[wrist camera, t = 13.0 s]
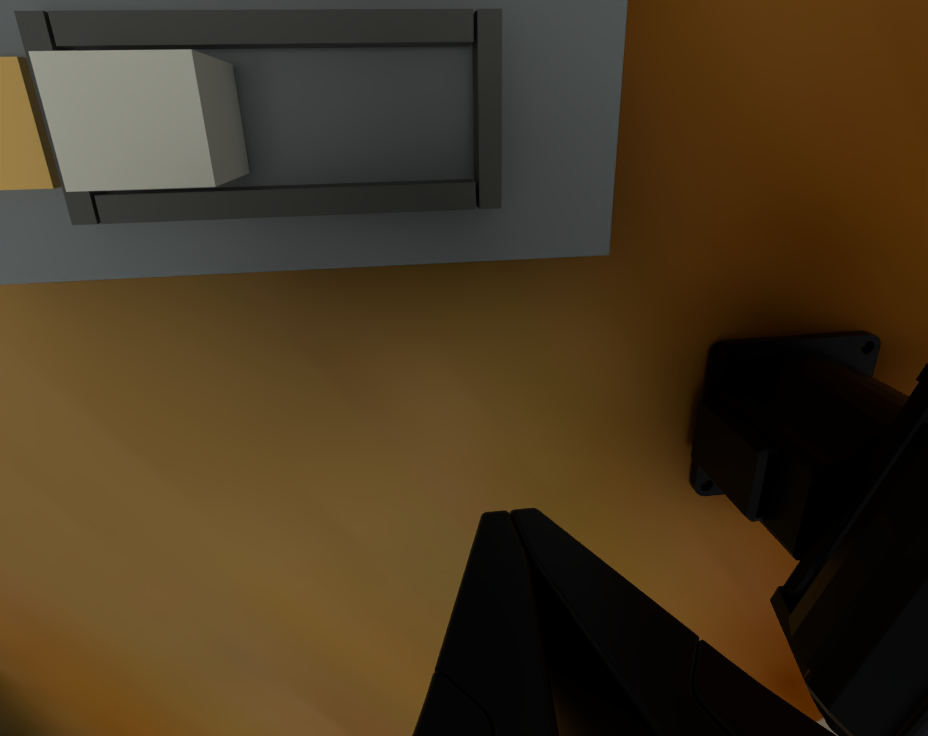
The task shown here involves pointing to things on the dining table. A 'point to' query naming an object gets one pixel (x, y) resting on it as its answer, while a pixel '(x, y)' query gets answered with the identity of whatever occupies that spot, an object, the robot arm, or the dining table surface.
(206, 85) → the slider
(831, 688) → the robot arm
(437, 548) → the dining table surface
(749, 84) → the dining table surface
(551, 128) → the switch unit
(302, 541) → the dining table surface
